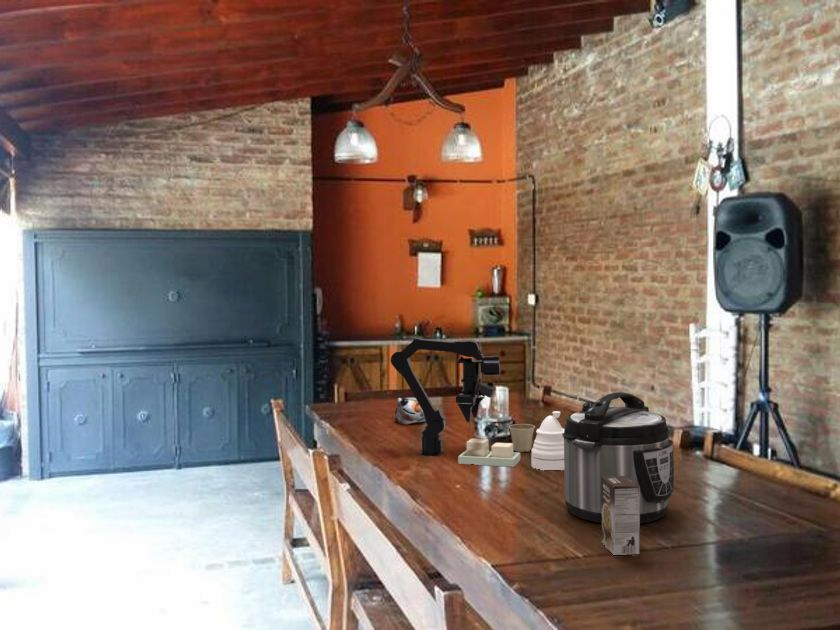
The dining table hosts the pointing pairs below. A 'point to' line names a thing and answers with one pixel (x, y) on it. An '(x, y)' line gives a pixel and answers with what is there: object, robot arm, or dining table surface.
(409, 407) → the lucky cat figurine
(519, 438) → the flower pot
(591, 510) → the pressure cooker
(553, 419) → the honey pot
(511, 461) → the tray
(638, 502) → the coffee box
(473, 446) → the maple cube
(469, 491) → the dining table surface
